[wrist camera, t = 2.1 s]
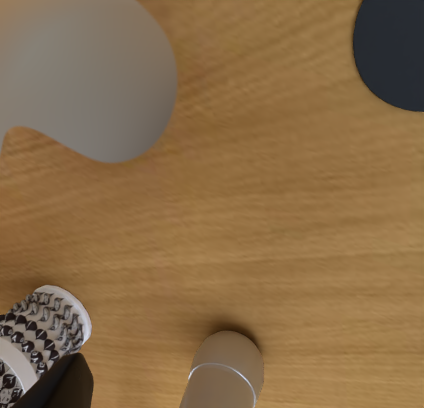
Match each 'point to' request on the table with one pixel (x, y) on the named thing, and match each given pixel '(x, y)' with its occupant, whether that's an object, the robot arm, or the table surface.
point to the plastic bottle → (225, 373)
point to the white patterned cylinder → (38, 338)
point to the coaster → (392, 50)
